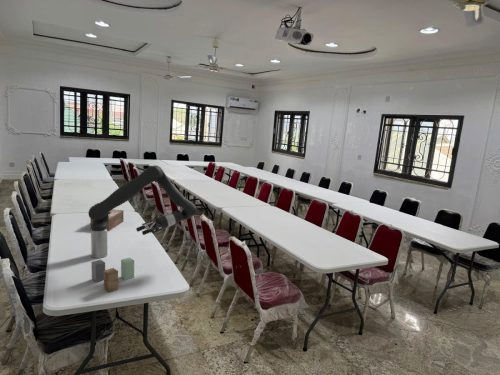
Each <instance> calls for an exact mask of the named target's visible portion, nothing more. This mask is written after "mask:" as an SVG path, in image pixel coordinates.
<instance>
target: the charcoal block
mask: <svg viewBox="0 0 500 375" xmlns="http://www.w3.org/2000/svg"><path fill="white" fill-rule="evenodd" d="M104 270H106V262H105V261H104V260H103V259H98V260H94V261H91V280H92V281H94V282H95V283H100V282H102V281H103V282H104Z"/></svg>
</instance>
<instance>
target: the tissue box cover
mask: <svg viewBox="0 0 500 375" xmlns="http://www.w3.org/2000/svg"><path fill="white" fill-rule="evenodd" d="M89 219H90V225H91V224H92V222H93V219H91V218H90V217H89ZM122 223H124V210H123V209H115V208H114V209H112V210H111V211H109V212H108V225H107V232H110V231H112V229H113V230H114V228H116V227H118V226H120V225H121V224H122Z"/></svg>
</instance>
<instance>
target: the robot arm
mask: <svg viewBox="0 0 500 375" xmlns="http://www.w3.org/2000/svg"><path fill="white" fill-rule="evenodd" d="M154 182H156V183H157V184H159V186H161V187H162V189H163V191H165V193H166V195H167V196H168V198H169V199H170V200H171V201H172V202H173V203H174V204H175V206H177V207H178V208H180V207H181V209H177V210H175V211H171V212H169V213H165V214H163V215H160V216H157V217H156V218H155V221H153V220H149V221H146V222H144V223H142V224H141V225H140V226H138V227H136V228H135V229H136V232H140V231H141V233H142V235H143V236H145V235H148V234H149V233H150V234H151V233H152V234H154V233H157V232H158V231H161V230H165V229H167V228H169V227H171V226H173V225H175V224H178V223H179V222H181V221H185V220H189V219H191V218H192V217H194V216H195V215H196V214H197V211H198V208H197V206H196V205H195V204H194V203H193V202H192V201H191V200H189V199H187V198H186V197H185V196H184V195H183V193H182V192H180V191H179V190H178V188H177V187H176V186H175V185H174V183H172V182H171V180H170V179H169V178H168V176H167V175H166V173H165V172H164V170H163V169H162V167H161V166H159V165H155V164H154V165H150V166H148V167H147V168H146V169H144V171H142V172H141V173H140V174H139V175H137V176H136V177H133V179H131V180H129V181H127V182H125V183H124V184H122V185H121V186H120V187H118V188H117V189H115V191H113V192H112V193H110V195H108V196H107V197H106V198H105V199H103V200H102V201H100V202H98V203H96V204H94V205H93V206H91V207H90V208H89V210H88V212H87V213H88V217H89V219H90V218H91V219H93V222H92V224H91V223H90V249H91V250H90V251H91V257H92V258H95V259H100V258H104V257H107V256H108V231H107V225H108V212H109V211H111V210H112V209H114V210H115V208H118V207H119V206H121V205H124V204H125V203H127V202H128V201H129V200H131V199H133V198H134V197H135V196H136V195H138V193H139V192H141V190H142V189H144V188H145V187H146V186H149V185H150V184H152V183H154Z"/></svg>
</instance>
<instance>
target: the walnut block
mask: <svg viewBox="0 0 500 375" xmlns="http://www.w3.org/2000/svg"><path fill="white" fill-rule="evenodd" d="M103 289H104V290H105V291H106V292H107V293H111V292H114V291H118V290H119V270H117V269H116V268H115V267H112V268H111V267H110V268H108V269H105V270H104V280H103Z"/></svg>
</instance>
